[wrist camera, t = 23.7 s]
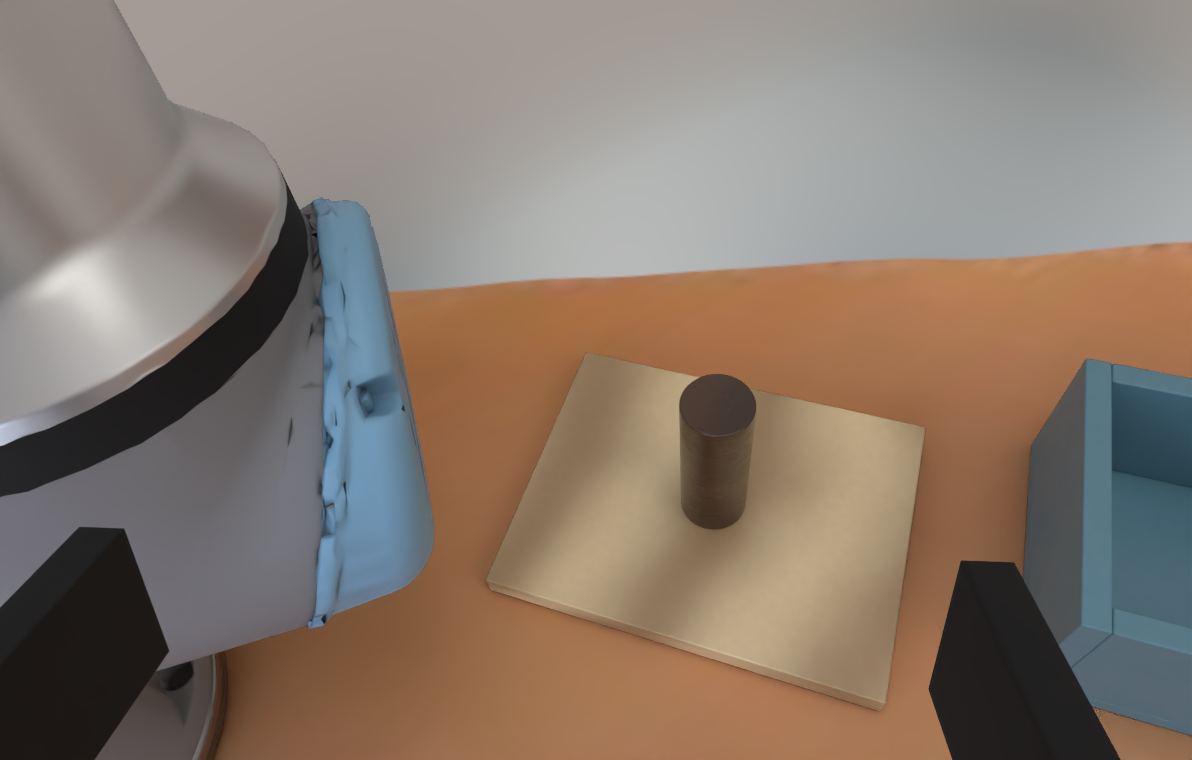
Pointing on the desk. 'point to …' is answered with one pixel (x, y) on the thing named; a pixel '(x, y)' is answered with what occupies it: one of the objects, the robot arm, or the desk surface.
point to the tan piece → (722, 524)
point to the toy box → (1117, 538)
